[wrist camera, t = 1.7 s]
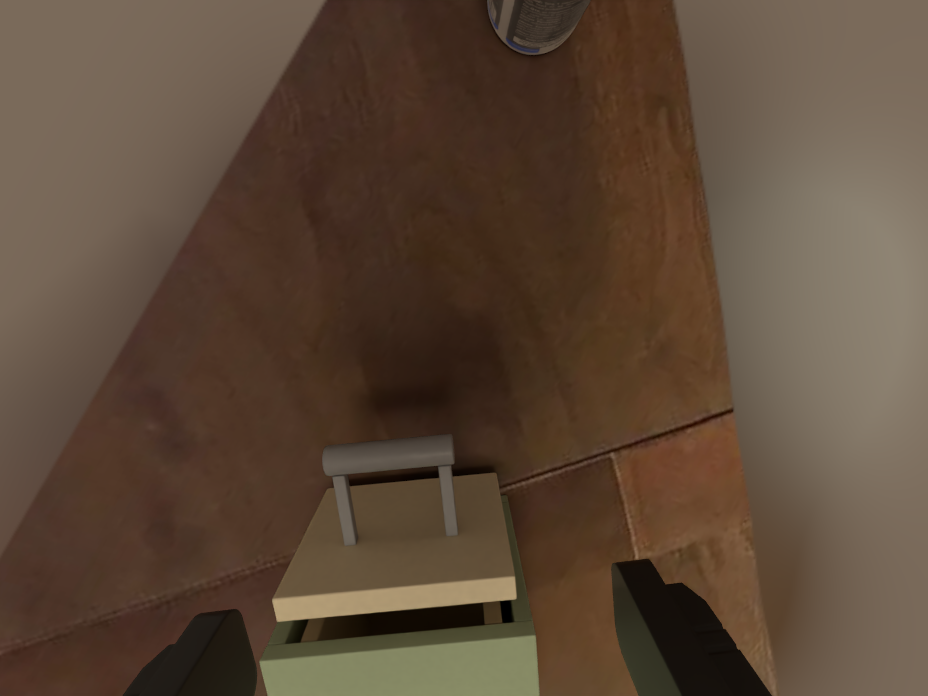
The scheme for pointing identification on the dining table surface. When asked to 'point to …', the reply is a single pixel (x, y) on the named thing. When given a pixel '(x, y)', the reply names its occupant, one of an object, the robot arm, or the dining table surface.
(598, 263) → the dining table surface
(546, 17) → the pill bottle
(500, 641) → the cabinet
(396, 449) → the drawer
